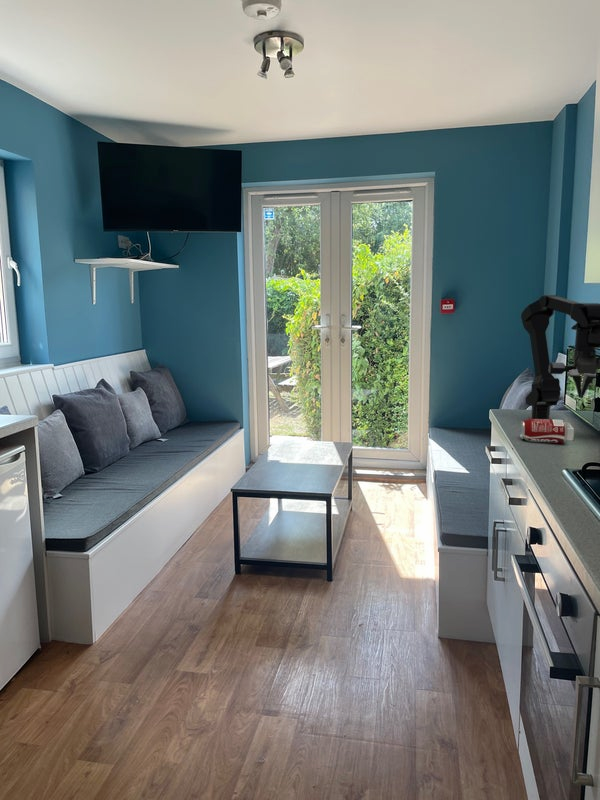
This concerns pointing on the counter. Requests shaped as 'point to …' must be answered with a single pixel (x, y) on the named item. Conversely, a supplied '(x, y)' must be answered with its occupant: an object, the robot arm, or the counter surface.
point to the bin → (570, 431)
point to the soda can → (544, 430)
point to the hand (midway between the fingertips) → (580, 397)
